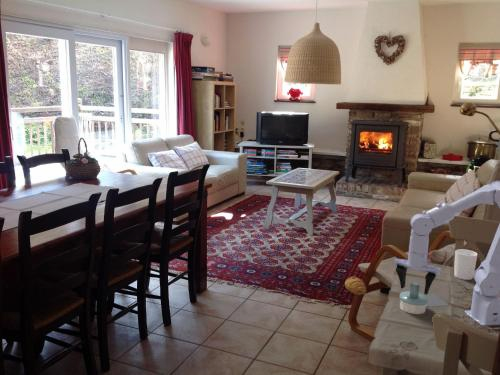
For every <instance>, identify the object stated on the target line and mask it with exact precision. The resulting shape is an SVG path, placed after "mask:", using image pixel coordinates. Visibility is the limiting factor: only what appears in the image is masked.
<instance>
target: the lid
mask: <svg viewBox="0 0 500 375" xmlns="http://www.w3.org/2000/svg"><path fill="white" fill-rule="evenodd" d="M420 286H421V285H420V284H419V283H417V282H410V287H409V290H407V291H406V290H405V291H402V292H400V293H399V300H400V299H401V300H402V301H403V302H405V303H408V304H411V305H425V304H427V303H428V297H427V296H425V294H423V293H421V292H420Z"/></svg>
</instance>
